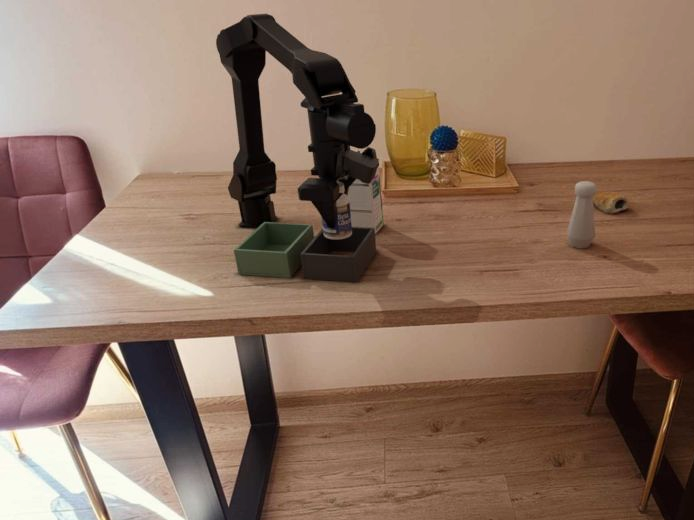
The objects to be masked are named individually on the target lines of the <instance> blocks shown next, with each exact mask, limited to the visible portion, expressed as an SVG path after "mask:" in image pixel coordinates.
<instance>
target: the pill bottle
mask: <svg viewBox="0 0 694 520" xmlns="http://www.w3.org/2000/svg"><path fill="white" fill-rule="evenodd" d="M337 183H338V184H339V193H343V195H342V196H341V197H340V198H339V199H338V200H337V201H336V222H335V228H329V227H328V226H327V224H326V223H325V221H324V219H323V218H322V216H321V215H320V216H321V226H322V228H323V234H324V236H325V237H326V238H328V239H333V240H340V239H345V238H348V237H349V236H351V234H352V224H351V213H350V202H349V197H348V196H347V195H346V194H344V192H345V191H344V190H345V189H344V184H343V183H342V182H337Z"/></svg>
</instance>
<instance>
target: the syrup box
mask: <svg viewBox="0 0 694 520" xmlns="http://www.w3.org/2000/svg"><path fill="white" fill-rule="evenodd" d="M380 177H381V176H380V165H379V166H378V168H377V171H376V175H375V178H374V179H373V180H372V181H371V183H370V184H366V183H363V182H361V181H360V180H358V179H356V180H355V181H354V182H353V183H352V185H351V186H350V187H349V191H348V197H349V202H350V213H351V224H352V227H364V228H374V229H375V235H376V234H377V233H378V232H379V230H380V229H381V228H382V227H383V226H384V225H385V221H384V211H383V210H384V209H383V198H382V197H383V196H382V186H381V178H380Z"/></svg>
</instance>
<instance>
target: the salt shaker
mask: <svg viewBox="0 0 694 520" xmlns="http://www.w3.org/2000/svg"><path fill="white" fill-rule="evenodd" d="M596 192H598V188H597V184H595V183H594V182H592V181H587V180H584V181H583V180H581V181H578V182H577V183H576V184H575V186H574V195H576V198H575V202H574V205H573V209H572V212H571V216H570V220H569V223H568V227H567V230H566V235H567V239H568V241H569V244H570V246H571V247H573V248H577V249H586V248H589V247H590V245H591V244H592V242H593V241H594V239H595V238H596V225H595V209H594V202H593V196H595V195H596Z"/></svg>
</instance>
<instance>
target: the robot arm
mask: <svg viewBox="0 0 694 520" xmlns="http://www.w3.org/2000/svg"><path fill="white" fill-rule="evenodd" d="M215 45H216V50H217V53H218V54H219V60H220V64H221V65H222V66H223V68H224V69H225V70H226V72H227V73H228V74H229V76H230V78H231V85H232V94H233V103H234V112H235V121H236V129H237V137H238V138H237V139H238V146H239V149H238V152H237V153H236V155H235V158H234V159H233V162H232V172H233V173H232V177H231V179H230V182H229V184H228V186H227V190H228V193H229V197H230V199H233V200H235V201H236V202H237V204H238V209H239V214H240V219H241V221H240V222H239V223H238V227H243V228H256V229H257V228H258V227H259V226H260V225H261V224H263V223H264V222H275V221H276V220H277V219H278V215H276V209H275V204H274V201H273V200H272V198H271V195H275V194H277V181H278V175H277V172H276V171H277V170H276V169H277V168H276V167H277V165H276V163H275V161H274V160H272V159H271V158H270V157H269V156H268V154H267V152H266V150H265V140H264V128H263V115H262V106H261V95H260V93H261V92H260V84H259V83H260V81H259V79H260V77H261V75H262V73H263V71H264V69H265V67H266V64H267V63H266V61H267V53H268V54H269V55H270V56H271V57H273V58H274V59H275V60H276V61H278V63H280V64H281V65H282V66H283V67H285V68H286V69H287V70H288V71H289V72H290V73H291V75H292V83H293V85H294V86H295V87H296V88H297V89H298V91H299V92H300V93H301V94H302V95H303V97H304V99H302V101H301V102H300V107H301V108H304V109H306V111H307V119H308V126H309V128H308V129H309V135H310V144H309V145H308V146H307V152H308V153H312V159H313V167H312V168H311V169H310V175H311V176H315V177H308V178H306V180H305V181H302V183H301V184H300V185H299V187H297V196H298V200H299V201H302V202H303V201H304V202H311V203H312V206H314V208H315V209H316V211H317V212H318V213H319V215H320V216H322V217H321V219H322V218H323V219H324V221H325V223H326V224H327V226H328V227H329V228H335V222H336V201H337V200H338V199H339V198H340V197H341V196H342V195H343V193H339V184H338V183H337V182H342V183H343V184H344V189H345V190H344V191H345V192H344V194H346V195H347V196H348V191H349V187H350V186H351V185H352V183H353V182H354V181H355V180H356V179H358V180H360V181H361V182H363V183H366V184H370V183H371V181H372V180H373V179H374V178H375V175H376V171H377V168H378V166H379V167H380V159H379V158H378V156H377V151H376V149H375V148H373V147H370V146H371V144H372V143H373V141H374V139H375V137H376V133H377V126H376V123H375V121H374V119H373V117H372V116H371V115H370V114H369V113H367V112H365V105H364V104H363V103H358V102H359V98H358V96H357V94H356V89H355V88H354V86H353V85H352V83H351V81H350V79H349V77H348V75H347V73H346V71H345V69H344V67H343V65H342V63H341V62H340V60H339V59H338V58H336V57H334V56H332V55H331V54H328V53H326V52H322V51H319V50H314V49H311V48H309V47H308V46H307V45H305V44H304V43H303V42H301V41H300V40H299V39H297V37H296V36H294V35H293V34H292V33H290V32H289V31H288V30H287V29H286V28H284V26H282V25H280V24H279V23H278V22H277V21H276V18H275V17H274V16H273V15H272V14H268V13H255V14H247V15H246V16H243V17H242V18H241V20H239V21H238V22H236V23H233V24H232V25H230V26H228V27H226V28H222V29H221V30H220V31H219V33H218V34H217V35H216V38H215ZM351 147H352V148H355V149H358V150H357V151H355V150H352V149H351ZM359 149H364V150H363V151H362V152H361V151H360V150H359ZM316 176H317V177H316Z"/></svg>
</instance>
